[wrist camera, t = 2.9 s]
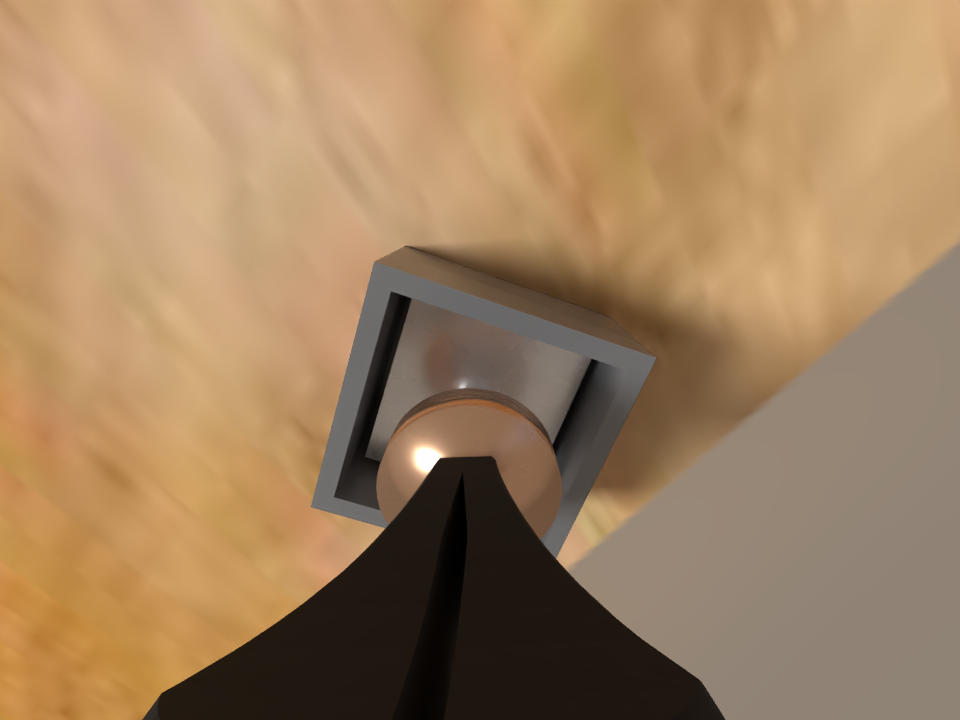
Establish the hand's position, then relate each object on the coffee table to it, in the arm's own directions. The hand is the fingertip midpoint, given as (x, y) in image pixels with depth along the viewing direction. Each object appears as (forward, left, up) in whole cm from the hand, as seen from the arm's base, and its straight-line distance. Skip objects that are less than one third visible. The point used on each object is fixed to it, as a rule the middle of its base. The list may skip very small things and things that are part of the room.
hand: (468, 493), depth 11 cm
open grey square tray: (0, 0, -8) cm, 8 cm away
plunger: (0, 0, -5) cm, 5 cm away
